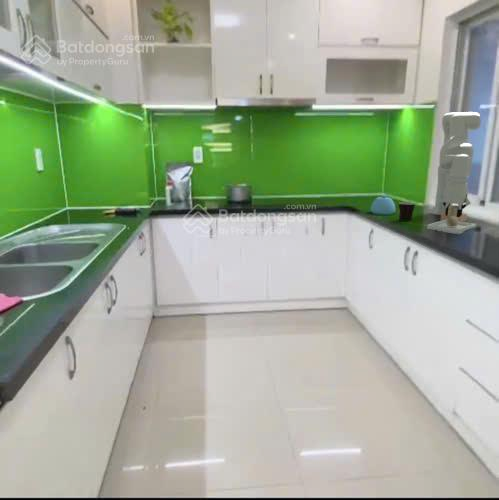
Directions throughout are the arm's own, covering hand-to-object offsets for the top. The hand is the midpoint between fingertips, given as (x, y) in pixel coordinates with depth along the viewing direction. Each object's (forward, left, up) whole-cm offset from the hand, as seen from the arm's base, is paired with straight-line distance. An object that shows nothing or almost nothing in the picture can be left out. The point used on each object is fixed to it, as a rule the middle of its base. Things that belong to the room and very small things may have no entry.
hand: (453, 215), depth 198 cm
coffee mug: (-27, +1, -7) cm, 28 cm away
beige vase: (0, 0, -5) cm, 5 cm away
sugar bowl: (-50, +15, -7) cm, 53 cm away
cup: (-7, +17, -7) cm, 20 cm away
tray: (0, 0, -7) cm, 7 cm away
